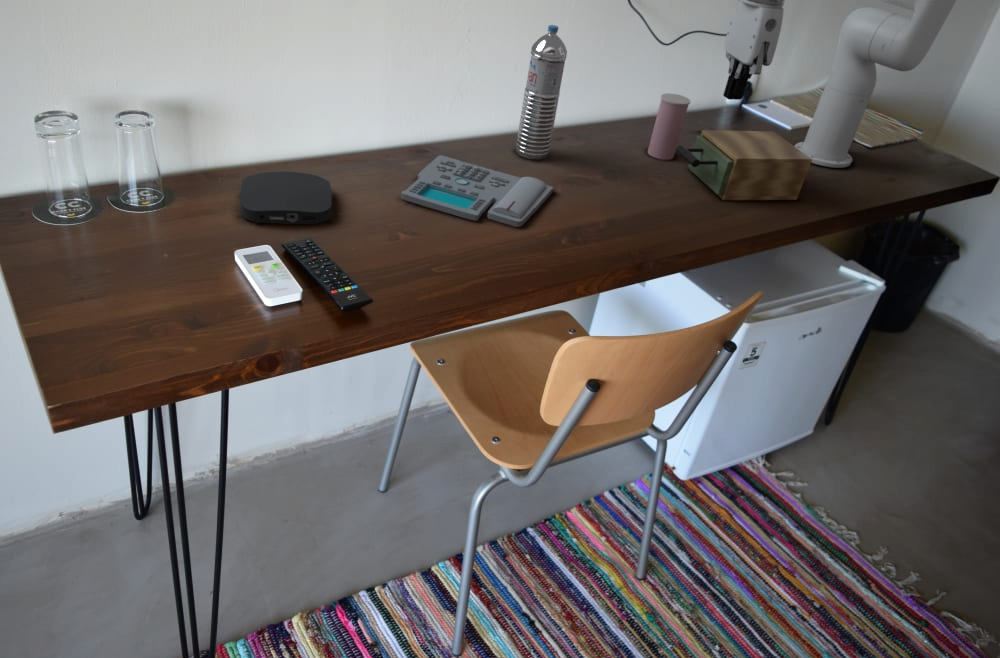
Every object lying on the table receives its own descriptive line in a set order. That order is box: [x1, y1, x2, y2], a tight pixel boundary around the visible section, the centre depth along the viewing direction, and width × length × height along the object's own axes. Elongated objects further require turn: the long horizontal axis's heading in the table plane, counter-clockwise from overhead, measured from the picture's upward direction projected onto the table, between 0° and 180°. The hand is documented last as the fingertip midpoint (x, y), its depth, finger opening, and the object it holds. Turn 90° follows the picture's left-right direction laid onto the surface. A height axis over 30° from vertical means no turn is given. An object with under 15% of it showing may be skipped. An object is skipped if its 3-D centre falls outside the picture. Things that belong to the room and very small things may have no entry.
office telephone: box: [400, 154, 554, 228], centre depth 145 cm, size 23×3×20 cm
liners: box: [647, 93, 691, 161], centre depth 169 cm, size 6×6×12 cm
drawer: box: [675, 135, 734, 196], centre depth 160 cm, size 21×13×7 cm, turn 104°
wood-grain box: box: [693, 129, 812, 201], centre depth 161 cm, size 17×14×9 cm
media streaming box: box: [239, 171, 333, 225], centre depth 134 cm, size 15×15×3 cm
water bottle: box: [515, 24, 568, 161], centre depth 157 cm, size 7×7×25 cm
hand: (732, 97), depth 152 cm, fingers closed
